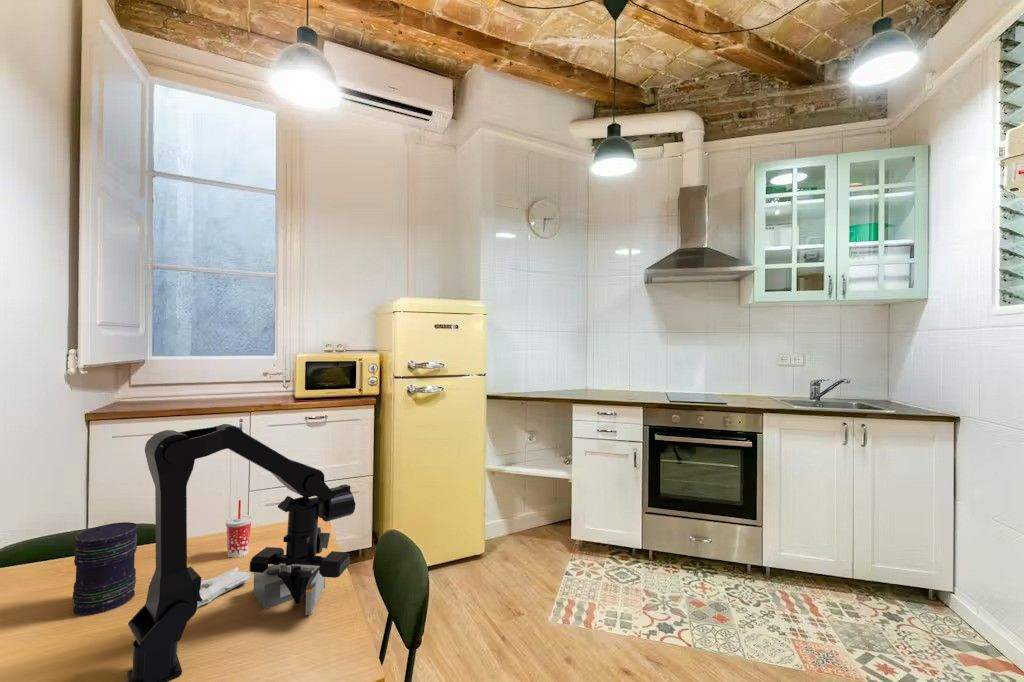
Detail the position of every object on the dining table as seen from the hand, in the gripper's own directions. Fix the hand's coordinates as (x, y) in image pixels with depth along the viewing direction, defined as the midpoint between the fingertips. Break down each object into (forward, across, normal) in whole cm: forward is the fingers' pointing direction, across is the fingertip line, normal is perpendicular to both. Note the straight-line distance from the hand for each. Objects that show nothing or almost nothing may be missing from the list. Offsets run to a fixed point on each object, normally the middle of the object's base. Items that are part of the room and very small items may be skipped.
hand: (298, 603), depth 91 cm
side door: (+1, -2, -3) cm, 4 cm away
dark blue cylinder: (+3, +42, 0) cm, 42 cm away
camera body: (+2, +6, -7) cm, 9 cm away
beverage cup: (+2, +29, -23) cm, 37 cm away
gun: (+3, +24, -3) cm, 24 cm away
